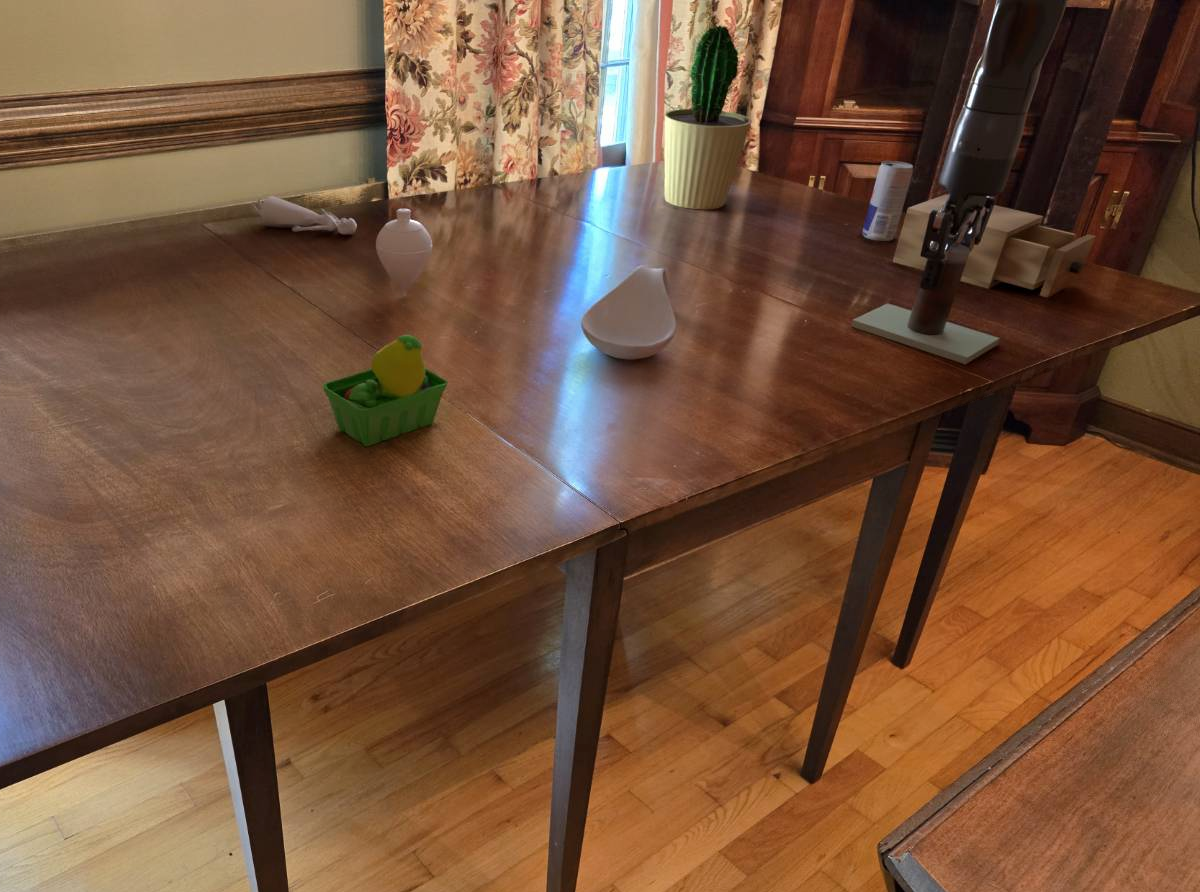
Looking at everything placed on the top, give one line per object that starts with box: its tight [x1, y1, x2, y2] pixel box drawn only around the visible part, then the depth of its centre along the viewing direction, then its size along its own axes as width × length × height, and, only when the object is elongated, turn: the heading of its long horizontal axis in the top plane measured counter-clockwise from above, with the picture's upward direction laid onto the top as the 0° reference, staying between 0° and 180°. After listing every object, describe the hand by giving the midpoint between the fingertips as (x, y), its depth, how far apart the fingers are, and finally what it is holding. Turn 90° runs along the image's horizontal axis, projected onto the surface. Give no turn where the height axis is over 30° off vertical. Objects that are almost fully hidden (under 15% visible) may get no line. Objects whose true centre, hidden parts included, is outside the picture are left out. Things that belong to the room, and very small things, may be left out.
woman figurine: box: [250, 195, 358, 236], centre depth 157 cm, size 12×4×18 cm
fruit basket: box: [322, 334, 448, 448], centre depth 99 cm, size 11×9×11 cm
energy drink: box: [862, 160, 914, 242], centre depth 163 cm, size 5×5×12 cm
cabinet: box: [892, 193, 1044, 290], centre depth 152 cm, size 16×14×9 cm
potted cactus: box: [664, 21, 753, 210], centre depth 172 cm, size 15×15×30 cm
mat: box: [850, 303, 1000, 365], centre depth 129 cm, size 16×10×1 cm, turn 43°
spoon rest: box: [580, 264, 677, 361], centre depth 124 cm, size 24×12×7 cm, turn 162°
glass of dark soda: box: [907, 244, 970, 335], centre depth 126 cm, size 5×5×11 cm
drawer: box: [994, 224, 1097, 299], centre depth 146 cm, size 16×12×7 cm
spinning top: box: [375, 208, 433, 298], centre depth 131 cm, size 8×8×12 cm
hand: (939, 283), depth 125 cm, fingers open, 6 cm apart
